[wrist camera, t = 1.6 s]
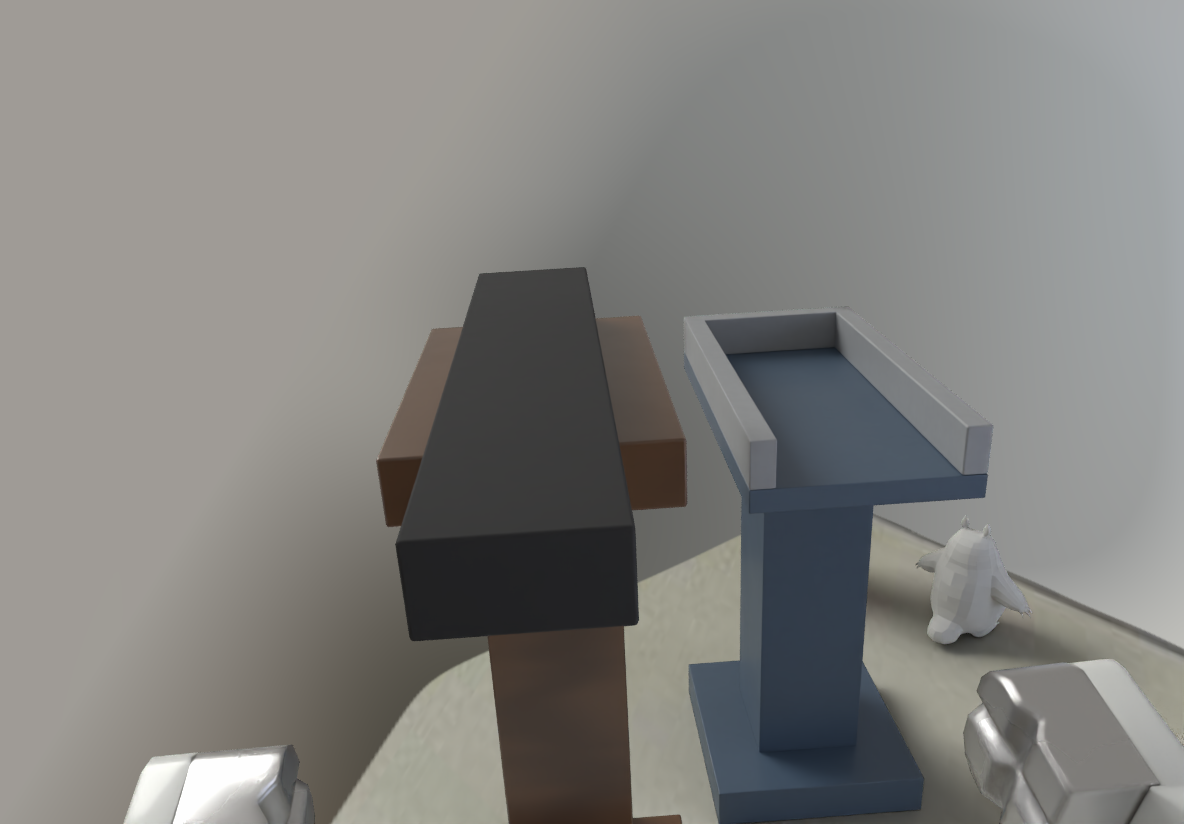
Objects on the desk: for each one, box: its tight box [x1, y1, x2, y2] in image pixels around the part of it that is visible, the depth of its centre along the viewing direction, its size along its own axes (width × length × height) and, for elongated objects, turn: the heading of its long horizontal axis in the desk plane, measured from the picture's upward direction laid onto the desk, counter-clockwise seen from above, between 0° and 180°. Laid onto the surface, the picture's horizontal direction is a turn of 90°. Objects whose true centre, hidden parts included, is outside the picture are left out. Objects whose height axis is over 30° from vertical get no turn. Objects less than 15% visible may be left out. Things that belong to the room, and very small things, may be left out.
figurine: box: [916, 515, 1032, 644], centre depth 56 cm, size 8×6×8 cm
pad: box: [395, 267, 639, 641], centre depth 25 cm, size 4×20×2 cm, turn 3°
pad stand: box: [376, 316, 687, 824], centre depth 33 cm, size 10×12×26 cm
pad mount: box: [684, 306, 993, 824], centre depth 45 cm, size 10×17×22 cm, turn 3°
